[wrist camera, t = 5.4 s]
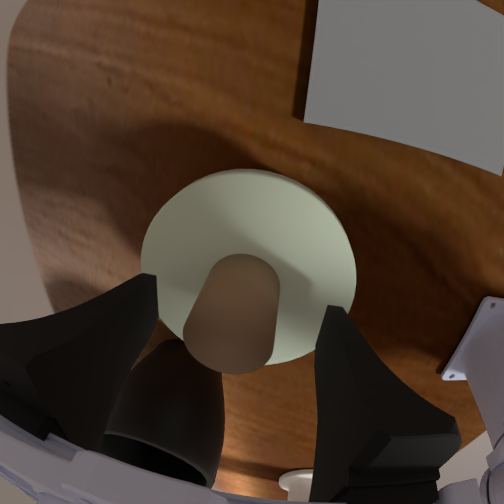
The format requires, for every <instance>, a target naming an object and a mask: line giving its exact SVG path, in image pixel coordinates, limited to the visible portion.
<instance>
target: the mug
mask: <svg viewBox="0 0 504 504" xmlns="http://www.w3.org/2000/svg"><path fill="white" fill-rule="evenodd" d="M224 430H225V409H224V395H223V385H222V372H218V371H215V370H213V369H210V368H208V367H206V366H205V365H203V364H201V363H200V362H199V361H197V360H196V359H195V358H194V357H193V356H192V355H191V354H190V352H189V351H188V349H187V347H186V346H185V343H184V341H183V340H169V341H165V342H163V343H161V344H159V345H158V346H157V348H156V349H154V350H153V351H152V352H151V353H150V354H148V355H147V356H146V357H145V358H144V359H142V360H141V361H140V362H139V363H138V364H137V365H136V366H135V367H134V368H133V369H132V370H131V371H130V372H129V373H128V375H127V377H126V379H125V381H124V383H123V385H122V387H121V390H120V392H119V394H118V397H117V399H116V402H115V404H114V407H113V410H112V412H111V415H110V418H109V421H108V424H107V427H106V430H105V433H104V437H103V440H102V444H101V448H100V451H99V453H100V454H103V455H105V456H108V457H111V458H113V459H116V460H118V461H121V462H124V463H127V464H129V465H132V466H135V467H138V468H141V469H144V470H147V471H151V472H154V473H157V474H160V475H164V476H167V477H171V478H175V479H178V480H182V481H186V482H190V483H193V484H196V485H200V486H203V487H206V488H210V489H211V488H212V486H213V484H214V482H215V478H216V473H217V469H218V465H219V461H220V456H221V452H222V447H223V441H224Z"/></svg>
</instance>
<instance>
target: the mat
mask: <svg viewBox="0 0 504 504" xmlns="http://www.w3.org/2000/svg"><path fill="white" fill-rule="evenodd" d="M303 122H306V123H312V124H318V125H323V126H329V127H334V128H339V129H344V130H349V131H353V132H358V133H363V134H367V135H371V136H376V137H380V138H384V139H388V140H392V141H396V142H399V143H403V144H407V145H410V146H414V147H418V148H421V149H424V150H428V151H431V152H434V153H438V154H441V155H444V156H447V157H450V158H453V159H456V160H459V161H462V162H465V163H468V164H471V165H473V166H476V167H479V168H482V169H484V170H487V171H490V172H492V173H495V174H497V175H500V176H501V175H502V171H503V166H504V16H503V15H501V14H500V13H498V12H496V11H494V10H493V9H491V8H489V7H487V6H485V5H483V4H481V3H480V2H478V1H476V0H319V1H318V11H317V19H316V28H315V37H314V45H313V53H312V61H311V69H310V77H309V84H308V92H307V99H306V107H305V114H304V121H303Z"/></svg>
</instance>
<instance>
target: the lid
mask: <svg viewBox="0 0 504 504" xmlns="http://www.w3.org/2000/svg"><path fill="white" fill-rule="evenodd" d="M142 273H147V274H152V275H157V294H158V310H159V317H160V318H161V320H162V321H163V322H164V323H165V325H166V326H167V327H168V328H169V329H170V330H171V331H172V332H173V333H174V334H175V335H177V336H178V337H179V338H180V339H182V340H183V341H184V343H185V346H186V347H187V349H188V351H189V352H190V354H191V355H192V356H193V357H194V358H195V359H196V360H197V361H199V362H200V363H201V364H203V365H205V366H206V367H208V368H210V369H213V370H215V371H218V372H222V373H227V374H245V373H249V372H253V371H255V370H257V369H259V368H261V367H262V366H264V365H268V364H277V363H281V362H286V361H290V360H293V359H295V358H298V357H301V356H303V355H305V354H307V353H309V352H311V351H313V350H314V349H315V344H316V341H317V338H318V334H319V331H320V328H321V325H322V321H323V318H324V315H325V311H326V308H327V305H333V306H341V307H343V308H344V309H345V311H346V313H347V314H348V312H349V310H350V308H351V305H352V302H353V299H354V295H355V288H356V267H355V260H354V256H353V253H352V250H351V246H350V243H349V241H348V238H347V235H346V232H345V230H344V228H343V226H342V224H341V222H340V220H339V219H338V218H337V216H336V215H335V213H334V212H333V210H332V209H331V208H330V207H329V206H328V205H327V204H326V203H325V201H324V200H323V199H322V198H320V197H319V196H318V195H317V194H316V193H314V192H313V191H312V190H311V189H309V188H307V187H306V186H304V185H302V184H301V183H299V182H297V181H295V180H293V179H291V178H288V177H286V176H284V175H281V174H277V173H273V172H270V171H265V170H257V169H233V170H225V171H220V172H217V173H213V174H210V175H207V176H205V177H203V178H200V179H198V180H196V181H194V182H193V183H191V184H190V185H188V186H187V187H185V188H184V189H182V190H181V191H180V192H178V193H177V194H176V195H175V196H173V197H172V198H171V199H170V200H169V201H168V202H167V203H166V204H165V205H164V206H163V207H162V208H161V209H160V210H159V212H158V213H157V214H156V215H155V217H154V219H153V220H152V222H151V224H150V225H149V227H148V230H147V232H146V235H145V237H144V241H143V246H142V250H141V274H142Z"/></svg>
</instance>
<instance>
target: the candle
mask: <svg viewBox="0 0 504 504" xmlns="http://www.w3.org/2000/svg"><path fill="white" fill-rule="evenodd" d="M312 476H313V469H303V470H295V471H291V472H288V473H285V474H283V475H282V476H281V477H280V478H279V486H280V487H281V488H283V489H285V490H287V491H288V501H297V502H308V501H309V496H310V490H311V484H312Z"/></svg>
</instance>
